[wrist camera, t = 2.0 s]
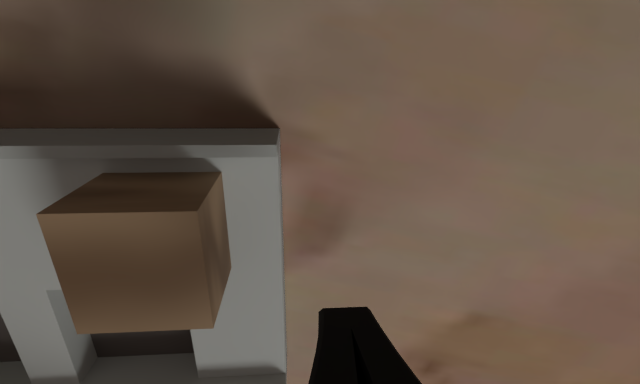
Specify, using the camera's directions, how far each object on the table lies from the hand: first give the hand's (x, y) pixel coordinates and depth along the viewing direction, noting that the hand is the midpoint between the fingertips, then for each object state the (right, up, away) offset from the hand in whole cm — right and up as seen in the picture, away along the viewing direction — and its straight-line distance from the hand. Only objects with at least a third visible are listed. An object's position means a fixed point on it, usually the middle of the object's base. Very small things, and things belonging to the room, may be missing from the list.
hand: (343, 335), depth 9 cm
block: (-7, +3, +6) cm, 10 cm away
